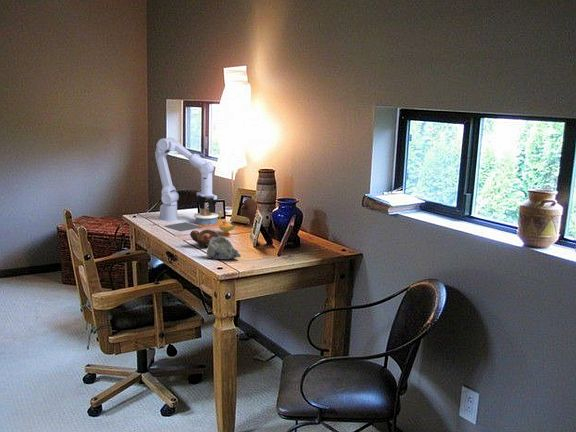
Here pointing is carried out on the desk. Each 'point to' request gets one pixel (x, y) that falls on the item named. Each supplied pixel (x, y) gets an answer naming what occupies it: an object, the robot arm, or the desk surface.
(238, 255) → the mineral rock
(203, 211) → the lid
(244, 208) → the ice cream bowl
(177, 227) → the mat
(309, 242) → the desk surface
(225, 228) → the magic lamp
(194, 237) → the decorative turtle
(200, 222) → the dish
